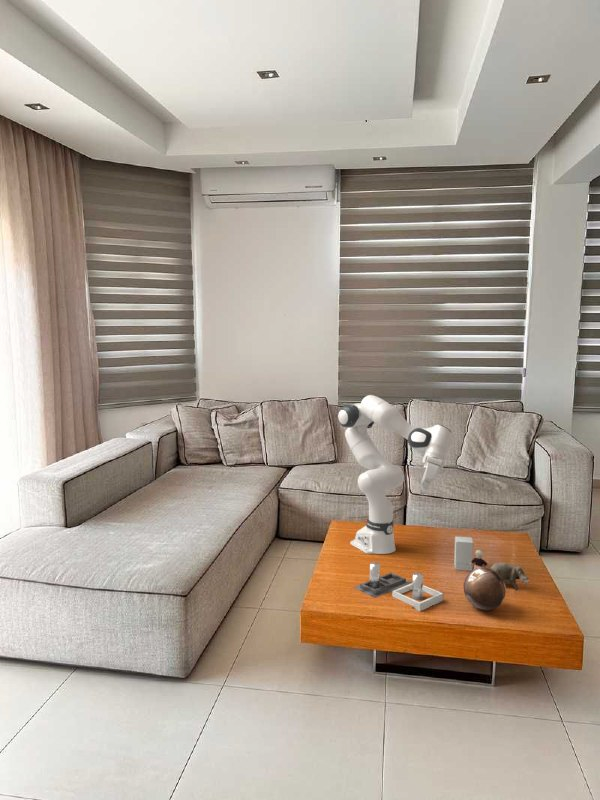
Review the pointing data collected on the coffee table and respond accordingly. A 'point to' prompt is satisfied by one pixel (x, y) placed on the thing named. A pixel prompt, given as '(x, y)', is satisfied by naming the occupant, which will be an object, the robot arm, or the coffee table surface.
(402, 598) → the white square frame
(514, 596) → the coffee table surface
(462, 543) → the supplement box
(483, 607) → the brown metallic sphere
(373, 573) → the seated billet
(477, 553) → the grandmother figurine
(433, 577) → the coffee table surface
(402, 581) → the tray
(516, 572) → the rhinoceros figurine
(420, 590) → the ball
